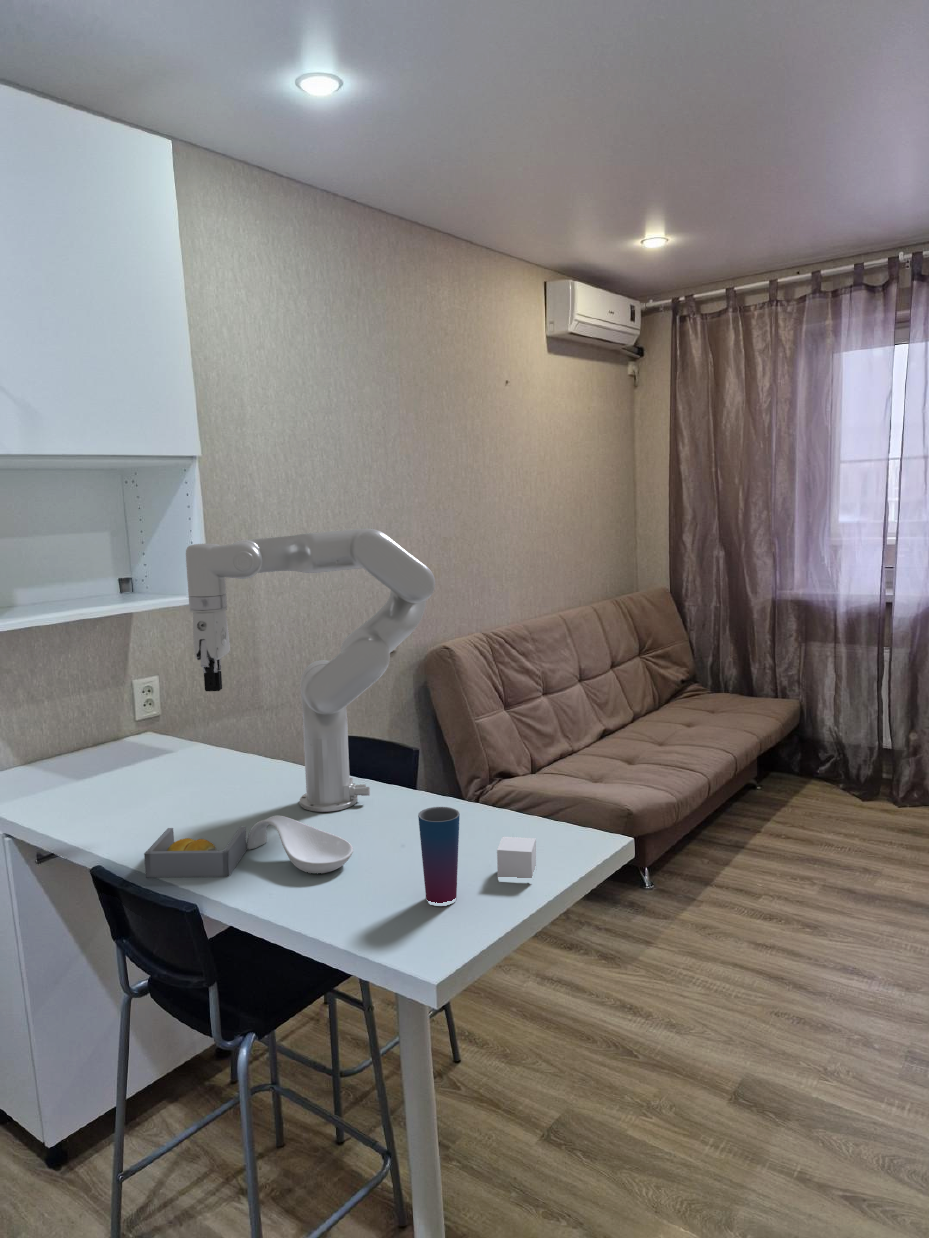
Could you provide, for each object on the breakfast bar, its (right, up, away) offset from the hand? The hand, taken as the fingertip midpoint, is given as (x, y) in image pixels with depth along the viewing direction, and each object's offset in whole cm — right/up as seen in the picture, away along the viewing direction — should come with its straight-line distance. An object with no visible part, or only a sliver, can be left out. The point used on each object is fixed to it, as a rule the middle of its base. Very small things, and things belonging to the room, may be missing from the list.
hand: (213, 690), depth 184 cm
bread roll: (+1, -31, -19) cm, 36 cm away
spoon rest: (+21, -30, -20) cm, 42 cm away
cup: (+49, -32, -38) cm, 69 cm away
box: (+3, -30, -21) cm, 37 cm away
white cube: (+62, -31, -29) cm, 75 cm away
